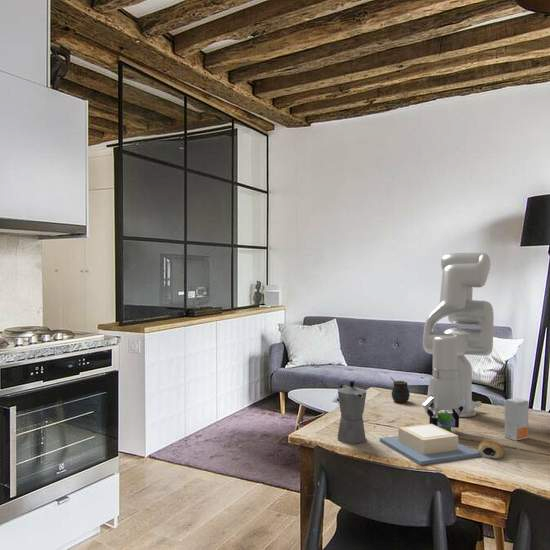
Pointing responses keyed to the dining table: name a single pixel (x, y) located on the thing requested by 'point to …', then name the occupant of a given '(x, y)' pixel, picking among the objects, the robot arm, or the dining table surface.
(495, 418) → the dining table surface
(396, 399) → the mate gourd
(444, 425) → the geometric puzzle
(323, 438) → the dining table surface
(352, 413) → the coffeepot
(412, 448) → the board
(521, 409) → the skincare box
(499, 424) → the dining table surface
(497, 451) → the pastry
